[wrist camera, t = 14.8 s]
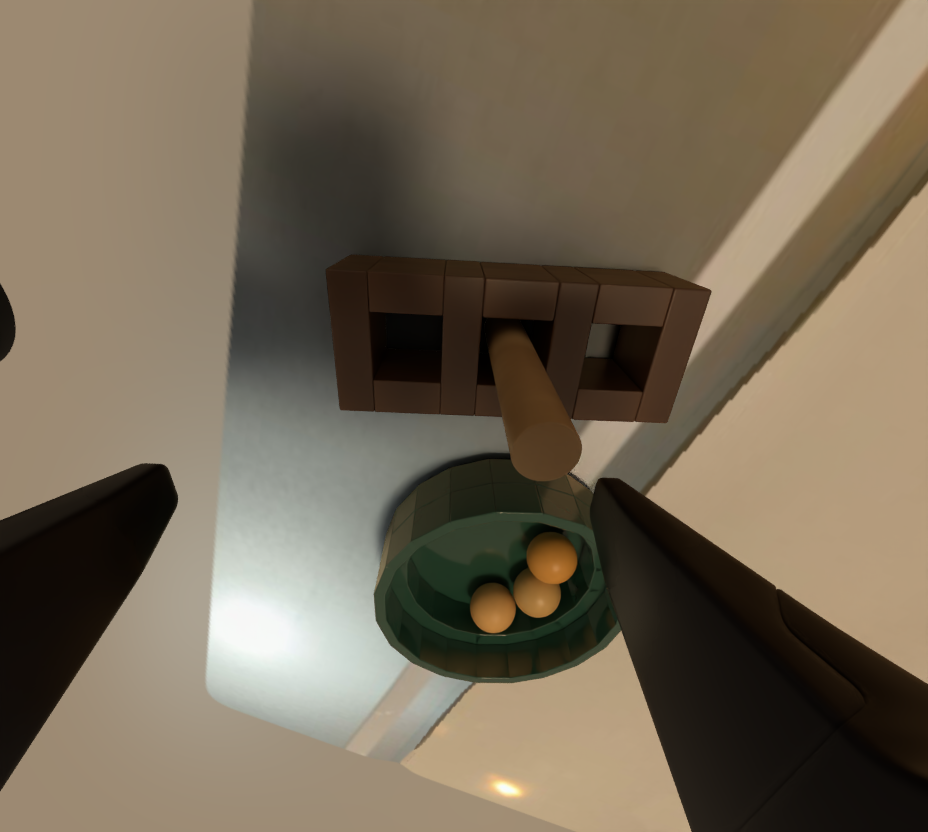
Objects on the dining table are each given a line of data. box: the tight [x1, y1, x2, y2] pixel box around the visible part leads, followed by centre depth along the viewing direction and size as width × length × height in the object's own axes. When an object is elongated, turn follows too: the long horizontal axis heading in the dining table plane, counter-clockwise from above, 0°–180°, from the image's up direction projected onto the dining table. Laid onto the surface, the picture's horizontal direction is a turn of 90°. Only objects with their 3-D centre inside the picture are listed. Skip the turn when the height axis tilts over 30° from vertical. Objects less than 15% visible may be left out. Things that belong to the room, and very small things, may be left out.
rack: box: [326, 254, 711, 423], centre depth 18 cm, size 14×6×4 cm, turn 87°
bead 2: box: [526, 532, 577, 584], centre depth 25 cm, size 3×3×3 cm
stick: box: [484, 318, 582, 481], centre depth 15 cm, size 2×2×11 cm
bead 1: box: [470, 583, 516, 633], centre depth 27 cm, size 3×3×3 cm
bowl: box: [374, 459, 621, 683], centre depth 25 cm, size 14×14×5 cm
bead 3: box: [513, 568, 561, 618], centre depth 26 cm, size 3×3×3 cm
